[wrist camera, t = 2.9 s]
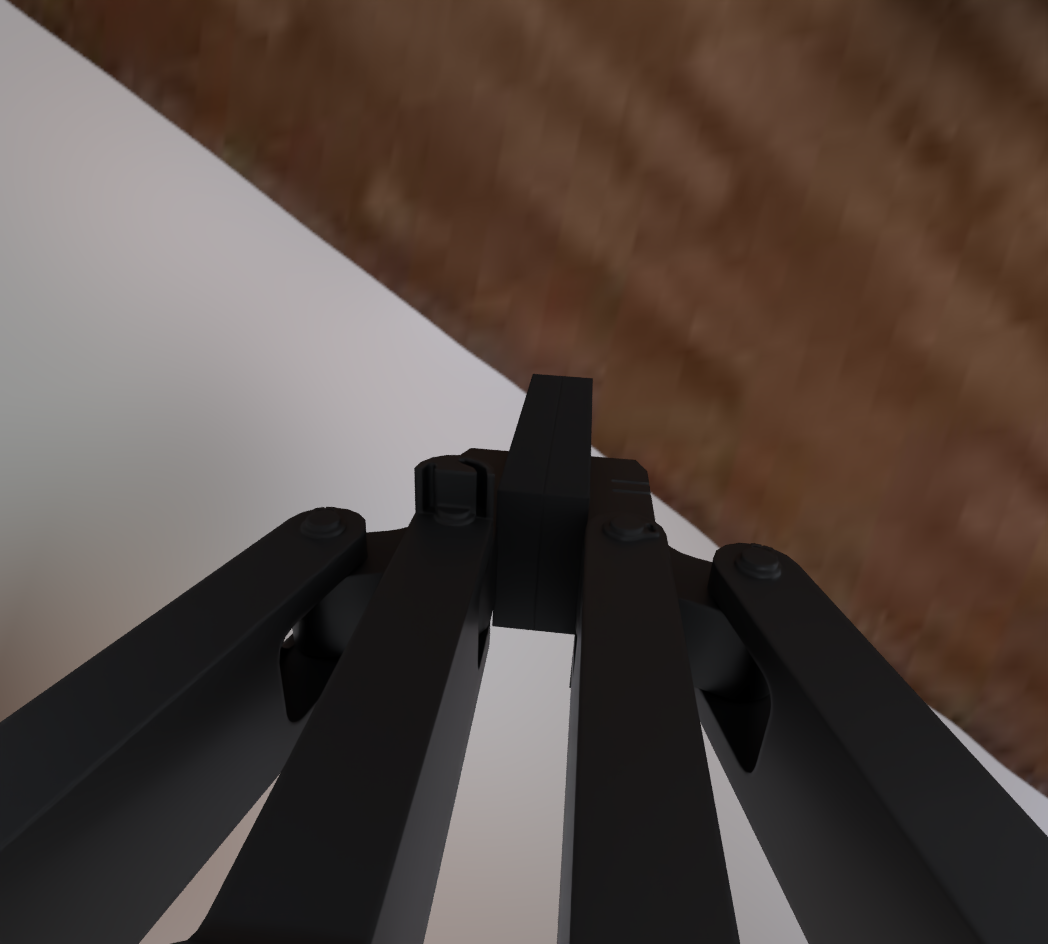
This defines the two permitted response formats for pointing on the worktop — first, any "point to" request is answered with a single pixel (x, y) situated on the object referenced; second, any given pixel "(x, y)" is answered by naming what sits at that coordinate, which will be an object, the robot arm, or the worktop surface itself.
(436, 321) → the worktop surface
